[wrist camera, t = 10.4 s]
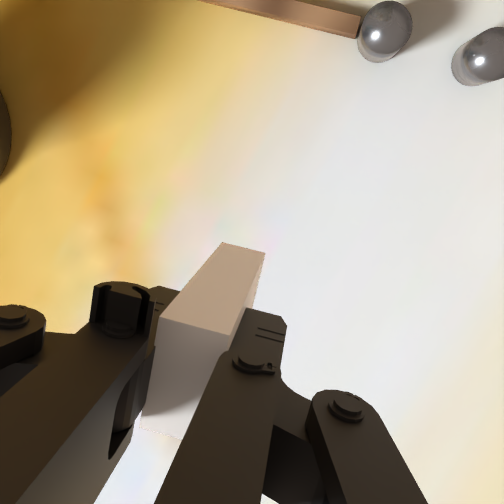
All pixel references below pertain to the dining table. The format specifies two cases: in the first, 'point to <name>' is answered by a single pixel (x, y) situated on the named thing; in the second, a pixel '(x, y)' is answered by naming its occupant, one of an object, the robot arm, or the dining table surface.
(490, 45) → the spacer field
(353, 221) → the dining table surface
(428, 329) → the dining table surface
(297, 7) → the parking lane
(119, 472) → the dining table surface
